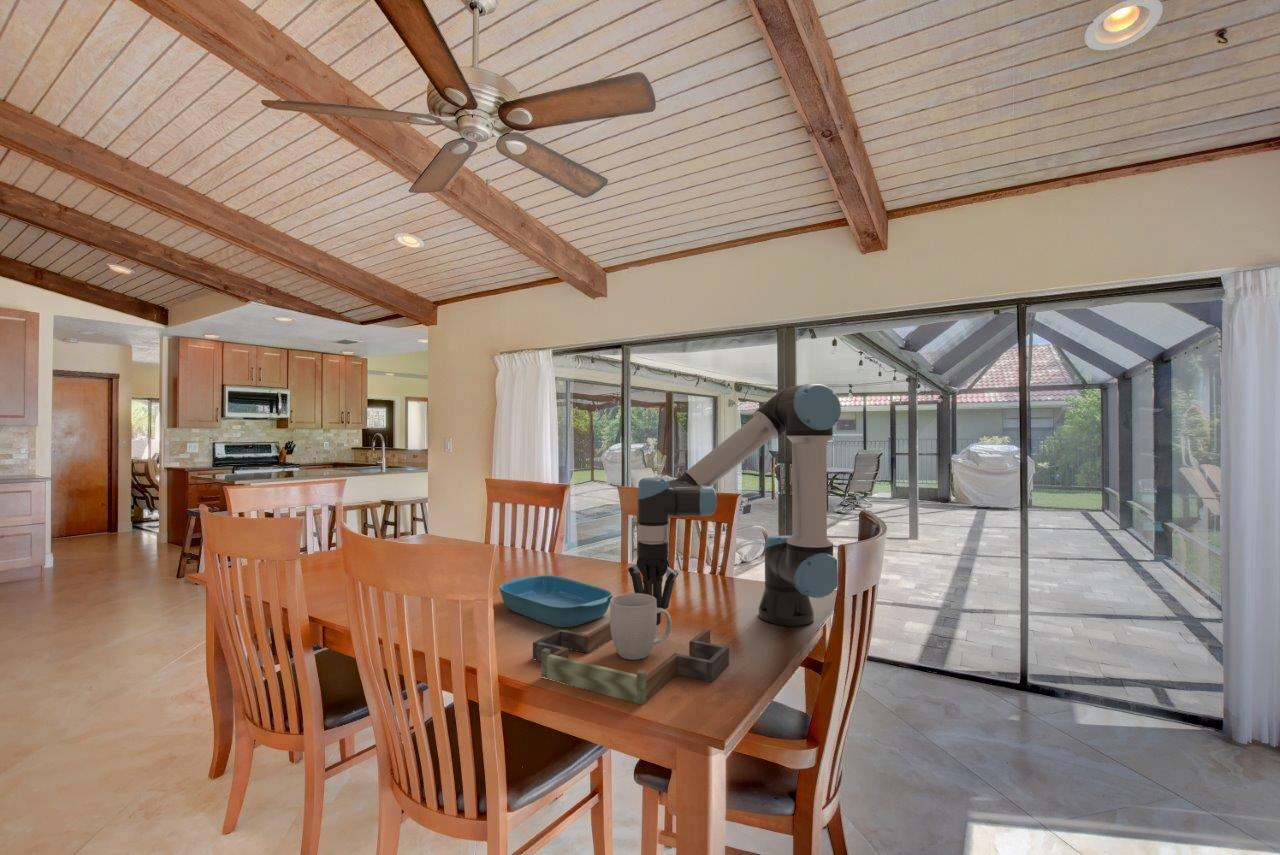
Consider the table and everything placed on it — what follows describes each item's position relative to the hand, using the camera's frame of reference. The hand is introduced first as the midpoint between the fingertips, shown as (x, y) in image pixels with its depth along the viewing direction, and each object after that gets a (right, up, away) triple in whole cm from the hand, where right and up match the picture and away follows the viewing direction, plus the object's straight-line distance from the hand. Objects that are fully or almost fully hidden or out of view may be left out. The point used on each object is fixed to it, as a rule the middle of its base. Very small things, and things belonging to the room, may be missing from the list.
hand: (652, 637), depth 143 cm
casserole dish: (-28, -3, +26) cm, 38 cm away
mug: (-4, -2, -6) cm, 7 cm away
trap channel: (-5, -2, -9) cm, 11 cm away
